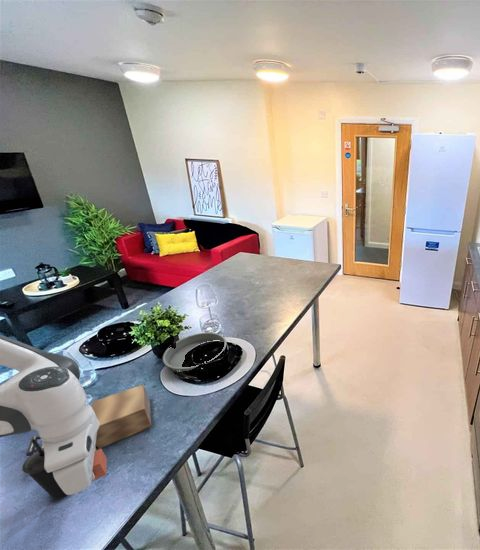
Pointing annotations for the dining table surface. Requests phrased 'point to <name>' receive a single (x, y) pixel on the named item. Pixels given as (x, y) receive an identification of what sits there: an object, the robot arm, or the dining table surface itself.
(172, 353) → the cake pan
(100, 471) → the block
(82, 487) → the robot arm
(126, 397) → the cabinet
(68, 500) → the dining table surface
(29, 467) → the drinking cup
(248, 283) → the dining table surface
